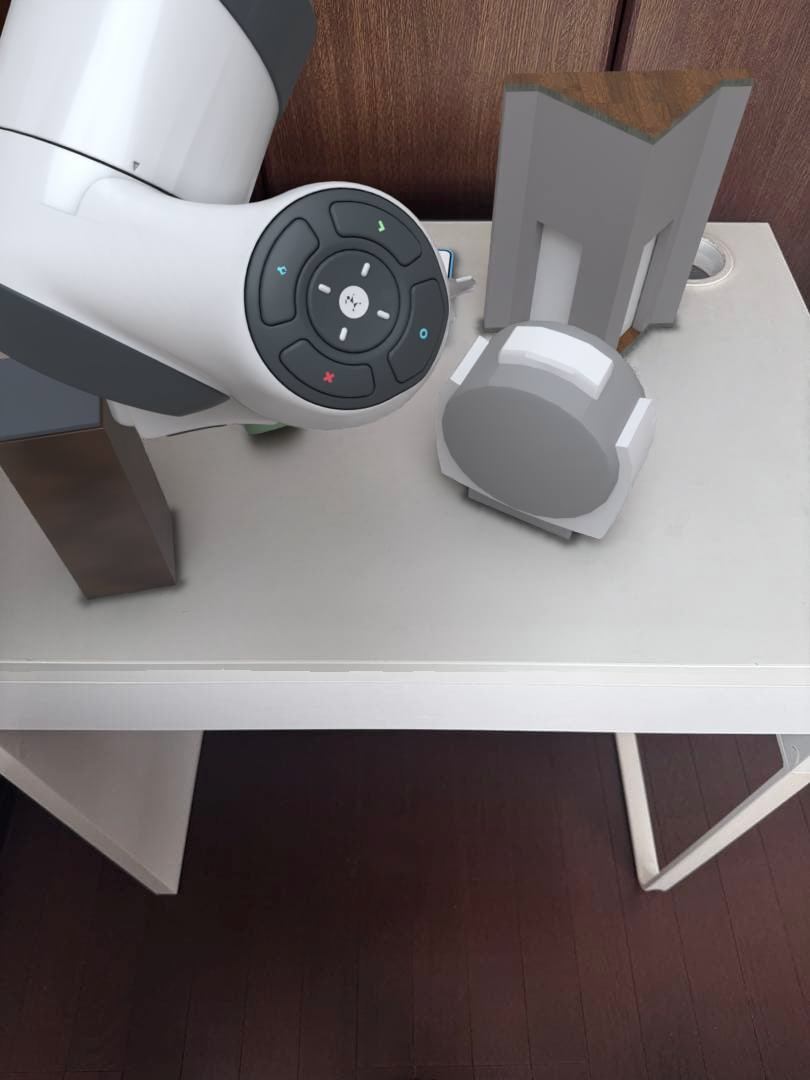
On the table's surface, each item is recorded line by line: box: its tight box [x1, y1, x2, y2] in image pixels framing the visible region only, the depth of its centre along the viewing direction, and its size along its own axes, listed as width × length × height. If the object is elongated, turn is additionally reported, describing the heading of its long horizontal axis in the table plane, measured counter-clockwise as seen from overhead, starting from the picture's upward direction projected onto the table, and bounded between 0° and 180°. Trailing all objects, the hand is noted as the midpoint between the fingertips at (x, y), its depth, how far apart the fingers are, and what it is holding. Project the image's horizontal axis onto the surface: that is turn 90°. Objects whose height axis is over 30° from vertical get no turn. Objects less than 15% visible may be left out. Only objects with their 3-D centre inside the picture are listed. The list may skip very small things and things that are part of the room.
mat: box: [0, 357, 101, 441], centre depth 62 cm, size 8×8×1 cm
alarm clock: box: [434, 321, 657, 540], centre depth 76 cm, size 18×8×20 cm, turn 62°
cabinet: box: [482, 67, 756, 356], centre depth 83 cm, size 21×10×28 cm, turn 92°
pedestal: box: [0, 397, 177, 600], centre depth 72 cm, size 8×8×22 cm
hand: (266, 343), depth 56 cm, fingers open, 8 cm apart
